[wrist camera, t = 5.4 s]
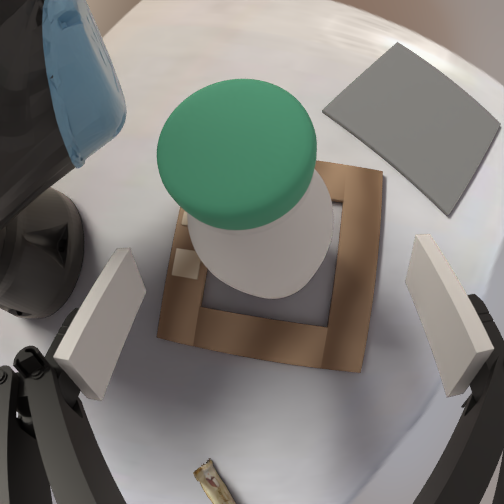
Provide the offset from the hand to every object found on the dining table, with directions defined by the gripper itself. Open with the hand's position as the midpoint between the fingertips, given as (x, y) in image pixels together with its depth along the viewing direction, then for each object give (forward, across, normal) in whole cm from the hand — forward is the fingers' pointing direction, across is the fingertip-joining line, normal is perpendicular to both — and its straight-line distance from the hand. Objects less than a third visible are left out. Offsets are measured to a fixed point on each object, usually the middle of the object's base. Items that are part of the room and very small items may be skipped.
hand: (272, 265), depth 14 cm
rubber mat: (+21, +16, +3) cm, 27 cm away
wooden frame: (+11, -1, -8) cm, 14 cm away
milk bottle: (+11, -1, -8) cm, 14 cm away
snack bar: (-5, -6, -25) cm, 26 cm away
